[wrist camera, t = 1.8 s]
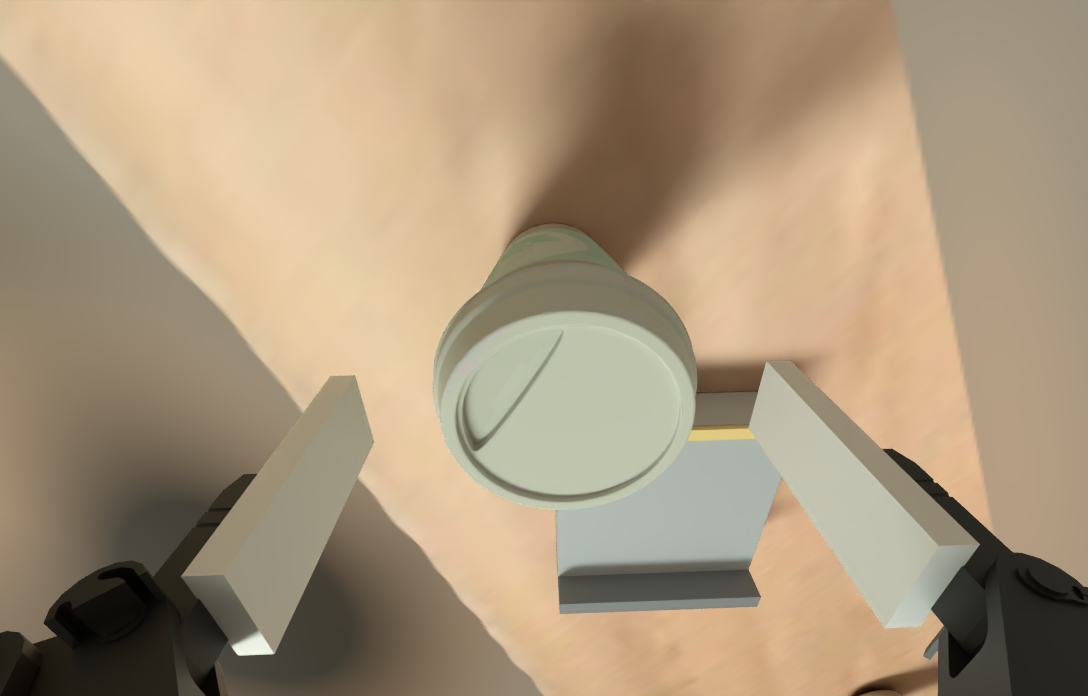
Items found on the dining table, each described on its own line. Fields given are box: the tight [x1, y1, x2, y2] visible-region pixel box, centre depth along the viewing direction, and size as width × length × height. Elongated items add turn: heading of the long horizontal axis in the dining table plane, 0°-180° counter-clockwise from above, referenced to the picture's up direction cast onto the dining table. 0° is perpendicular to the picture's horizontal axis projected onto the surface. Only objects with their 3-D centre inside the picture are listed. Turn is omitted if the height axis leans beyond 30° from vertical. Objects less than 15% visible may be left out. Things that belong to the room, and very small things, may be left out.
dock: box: [556, 391, 781, 614], centre depth 29 cm, size 15×14×5 cm
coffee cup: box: [433, 223, 697, 510], centre depth 18 cm, size 8×9×12 cm
